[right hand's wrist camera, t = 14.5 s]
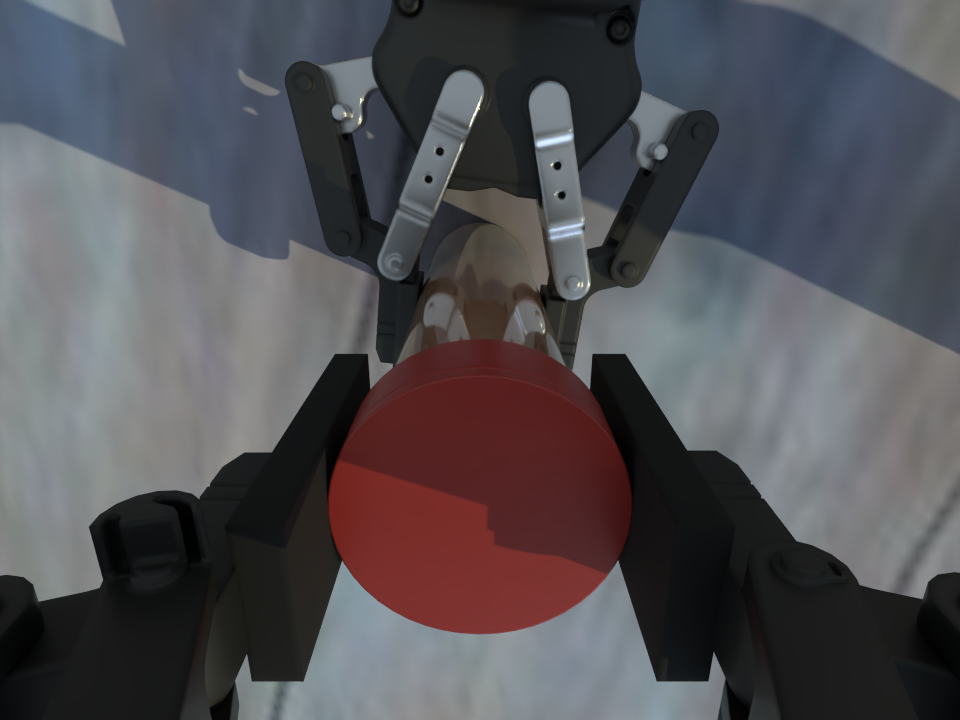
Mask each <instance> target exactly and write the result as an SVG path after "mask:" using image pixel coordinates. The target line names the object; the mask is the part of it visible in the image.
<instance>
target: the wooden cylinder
mask: <svg viewBox="0 0 960 720" xmlns="http://www.w3.org/2000/svg"><path fill="white" fill-rule="evenodd" d="M471 339H490V340H501V341H506V342H511V343H517V344H520V345H523V346H526V347H529V348H532V349H535V350H537V351H539V352H542V353H544V354H546V355H548V356H550V357H552V358H553V359H555V360H556V361H558V362H560V363H561V364H563V365H564V366H566V365H565V362H564V360H563V357H562V354H561V351H560V349H559V346H558V343H557V340H556V338H555V335H554V332H553V329H552V326H551V324H550V321H549V318H548V315H547V313H546V310H545V307H544V304H543V302H542V299H541V296H540V293H539V290H538V288H537V285H536V282H535V279H534V277H533V274H532V271H531V268H530V266H529V263H528V260H527V257H526V254H525V252H524V250H523V248H522V246H521V244H520V243H519V242H518V240H517V239H516V238H515V237H514V236H513V235H512V234H511V233H509V232H508V231H507V230H505V229H503V228H501V227H499V226H496V225H494V224H489V223H471V224H467V225H464V226H461V227H459V228H457V229H455V230H454V231H452V232H451V233H449V234H448V235H447V236H446V237H445V238H444V239H443V240H442V242H441V243H440V245H439V246H438V248H437V250H436V252H435V255H434V257H433V260H432V263H431V266H430V269H429V271H428V274H427V277H426V280H425V282H424V285H423V288H422V291H421V294H420V296H419V299H418V302H417V305H416V307H415V310H414V313H413V316H412V319H411V321H410V324H409V327H408V330H407V332H406V335H405V338H404V341H403V344H402V346H401V349H400V352H399V355H398V357H397V360H396V363H395V366H396V365H397V364H399V363H401V362H402V361H404V360H405V359H407V358H408V357H410V356H412V355H414V354H416V353H419V352H421V351H423V350H425V349H428V348H431V347H434V346H437V345H440V344H443V343H448V342H454V341H459V340H471ZM395 366H394V367H395Z"/></svg>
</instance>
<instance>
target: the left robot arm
mask: <svg viewBox="0 0 960 720" xmlns="http://www.w3.org/2000/svg"><path fill="white" fill-rule="evenodd" d="M640 5H641V0H392V6H391V12H390V15H389V19H388V22H387V24H386V27H385V29H384V31H383V33H382V34H381V36H380V38H379V39H378V41H377V42H376V45H375V47H374V50H373V54H372V56H369V57H364V58H358V59H353V60H348V61H342V62H337V63H331V64H326V65H318V64H315V63H310V62H306V61H300V62H296V63H294V64H293V65H291V66H290V68H289V69H288V71H287V73H286V76H285V85H286V89H287V93H288V97H289V101H290V105H291V109H292V113H293V117H294V121H295V125H296V129H297V133H298V137H299V141H300V145H301V148H302V152H303V156H304V160H305V164H306V168H307V172H308V176H309V180H310V184H311V188H312V192H313V196H314V200H315V204H316V208H317V211H318V215H319V219H320V223H321V227H322V231H323V235H324V239H325V243H326V245H327V247H328V248H329V250H330V251H331V252H333V253H334V254H336V255H338V256H344V257H345V256H351V257H353V258H355V259H357V260H359V261H361V262H363V263H366V264H367V265H369V266H370V267H372V268H373V270H374V271H375V272H376V274H377V276H378V278H379V283H380V288H379V305H378V324H377V339H376V350H377V353H378V356H379V359H380V362H384V363H393V367H394V366H395V363H396V360H397V357H398V355H399V352H400V349H401V346H402V344H403V341H404V338H405V335H406V332H407V330H408V327H409V324H410V321H411V319H412V316H413V313H414V310H415V307H416V305H417V302H418V299H419V296H420V294H421V291H422V288H423V280H424V272H422V271H419V260H420V252H421V249H422V247H423V244H424V242H425V240H426V237H427V235H428V233H429V230H430V228H431V225H432V223H433V221H434V218H435V216H436V214H437V211H438V209H439V207H440V204H441V202H442V200H443V197H444V195H445V193H446V190H447V189H455V190H464V191H475V190H481V189H488V188H497V189H500V190H502V191H505V192H507V193H510V194H512V195H514V196H517V197H522V198H531V199H536V204H537V210H538V216H539V221H540V225H541V229H542V235H543V241H544V248H545V254H546V260H547V266H548V272H549V277H548V283H547V285H541V288H540V296H541V299H542V302H543V304H544V307H545V310H546V313H547V315H548V318H549V321H550V324H551V326H552V329H553V332H554V335H555V338H556V340H557V343H558V346H559V349H560V351H561V354H562V357H563V360H564V362H565V365H566V367H567V368H568V369H569V370H570V371H572V369H573V363H574V358H575V352H576V347H577V341H578V335H579V330H580V324H581V319H582V313H583V308H584V305H585V302H586V301H587V299H588V298H589V297H590V296H591V295H592V294H594V293H595V292H597V291H600V290H603V289H607V288H612V287H616V286H621V287H625V288H630V287H634V286H636V285H638V284H639V283H640V282H641V281H642V280H643V279H644V277H645V275H646V273H647V271H648V270H649V268H650V266H651V264H652V262H653V260H654V258H655V256H656V254H657V252H658V250H659V248H660V246H661V245H662V243H663V241H664V239H665V237H666V235H667V233H668V231H669V229H670V227H671V225H672V223H673V221H674V219H675V218H676V216H677V214H678V212H679V210H680V208H681V206H682V204H683V202H684V200H685V198H686V196H687V194H688V192H689V191H690V189H691V187H692V185H693V183H694V181H695V179H696V177H697V175H698V173H699V171H700V169H701V167H702V165H703V164H704V162H705V160H706V158H707V156H708V154H709V152H710V150H711V148H712V146H713V144H714V142H715V140H716V138H717V136H718V132H719V125H718V121H717V119H716V117H715V116H714V115H713V114H712V113H710V112H708V111H704V110H699V111H684V110H682V109H680V108H678V107H676V106H674V105H672V104H670V103H667V102H665V101H663V100H661V99H659V98H657V97H655V96H653V95H650V94H648V93H646V92H644V91H642V83H641V76H640V73H639V70H638V67H637V63H636V58H635V49H634V41H635V33H636V27H637V22H638V16H639V10H640ZM378 90H380V92H381V93H382V95H383V97H384V99H385V100H386V102H387V104H388V106H389V107H390V109H391V111H392V113H393V114H394V116H395V118H396V120H397V121H398V123H399V125H400V127H401V128H402V130H403V132H404V134H405V135H406V137H407V139H408V141H409V142H410V144H411V146H412V148H413V150H414V151H415V153H416V155H417V157H416V159H415V162H414V164H413V167H412V169H411V172H410V174H409V177H408V179H407V182H406V184H405V187H404V190H403V192H402V195H401V197H400V200H399V203H398V206H397V210H396V213H395V215H394V218H393V220H392V223H391V225H390V228H389V227H387V226H385V225H383V224H381V223H379V222H377V221H375V220H373V219H371V216H370V212H369V207H368V203H367V198H366V194H365V189H364V185H363V181H362V176H361V172H360V167H359V163H358V158H357V154H356V149H355V145H354V140H353V136H352V133H353V132H357V131H359V130H360V129H361V128H362V127H363V126H364V125H365V123H366V120H367V103H368V100H369V98H370V96H371V95H372V94H373V93H374V92H376V91H378ZM625 122H628V124H629V125H630V126H631V128H632V131H633V142H632V145H631V148H630V155H631V159H632V161H633V162H634V164H635V165H637V166H638V167H640V168H639V170H638V172H637V174H636V176H635V179H634V181H633V183H632V185H631V187H630V189H629V191H628V193H627V195H626V197H625V199H624V201H623V203H622V205H621V207H620V209H619V212H618V214H617V216H616V218H615V220H614V222H613V224H612V226H611V228H610V230H609V232H608V234H607V236H606V238H605V240H604V243H603V245H602V246H600V247H595V248H591V249H586V242H585V234H584V229H585V219H584V211H583V204H582V197H581V189H580V182H579V175H578V172H579V171H580V170H581V169H582V168H583V167H584V166H585V165H586V164H587V163H588V162H589V161H590V160H591V158H592V157H593V156H594V155H595V154H596V153H597V152H598V151H599V150H600V149H601V148H602V147H603V146H604V145H605V143H606V142H607V141H608V140H609V139H610V138H611V137H612V136H613V135H614V134H615V133H616V132H617V131H618V130H619V128H620V127H621V126H622V125H623V124H624V123H625Z"/></svg>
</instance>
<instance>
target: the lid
mask: <svg viewBox="0 0 960 720" xmlns="http://www.w3.org/2000/svg"><path fill="white" fill-rule="evenodd" d="M632 503H633V497H632V488H631V481H630V478H629V474H628V471H627V467H626V464H625V462H624V460H623V457H622V455H621V453H620V450H619V448H618V446H617V443H616V441H615V439H614V436H613V434H612V432H611V430H610V427H609V425H608V423H607V420H606V418H605V416H604V414H603V411H602V409H601V407H600V405H599V403H598V402H597V400H596V399H595V397H594V396H593V394H592V392H591V391H590V390H589V389H588V388H587V386H586V385H585V384H584V383H583V382H582V381H581V379H580V378H579V377H577V376H576V375H575V374H574V373H573V372H572V371H570V370H569V369H568V368H567V367H566V366H564V365H563V364H561V363H560V362H558V361H556V360H555V359H553V358H552V357H550V356H548V355H546V354H544V353H542V352H539V351H537V350H535V349H532V348H529V347H526V346H523V345H520V344H517V343H511V342H506V341H501V340H490V339H471V340H459V341H454V342H448V343H443V344H440V345H437V346H434V347H431V348H428V349H425V350H423V351H421V352H419V353H416V354H414V355H412V356H410V357H408V358H407V359H405V360H404V361H402V362H401V363H399V364H397V365H396V366H395V367H393V368H392V369H391V370H390V371H389V372H387V373H386V374H385V375H384V376H383V377H382V378H381V379H380V380H379V381H378V382H377V383H376V384H375V385H374V386H373V388H372V389H371V390H370V391H369V393H368V394H367V396H366V397H365V399H364V400H363V402H362V403H361V406H360V408H359V410H358V412H357V414H356V416H355V418H354V420H353V423H352V425H351V427H350V430H349V432H348V434H347V437H346V439H345V441H344V444H343V446H342V448H341V450H340V453H339V455H338V457H337V460H336V462H335V465H334V468H333V471H332V475H331V478H330V483H329V490H328V511H329V521H330V529H331V534H332V537H333V540H334V543H335V546H336V548H337V550H338V552H339V554H340V556H341V558H342V560H343V562H344V564H345V565H346V567H347V568H348V570H349V571H350V573H351V574H352V576H353V577H354V578H355V579H356V580H357V581H358V583H359V584H360V585H361V586H362V587H363V588H364V589H365V590H366V591H367V592H368V593H369V594H371V595H372V596H373V597H374V598H375V599H376V600H377V601H379V602H380V603H382V604H383V605H385V606H386V607H388V608H389V609H391V610H392V611H394V612H396V613H398V614H400V615H402V616H404V617H405V618H407V619H410V620H412V621H415V622H417V623H420V624H423V625H425V626H429V627H432V628H436V629H440V630H444V631H450V632H457V633H467V634H495V633H503V632H510V631H516V630H520V629H524V628H528V627H532V626H535V625H538V624H540V623H543V622H546V621H548V620H551V619H553V618H555V617H557V616H559V615H561V614H563V613H565V612H566V611H568V610H569V609H571V608H572V607H574V606H576V605H577V604H579V603H580V602H581V601H583V600H584V599H585V598H586V597H587V596H589V595H590V594H591V593H592V592H593V591H594V590H595V589H596V588H597V587H598V586H599V585H600V584H601V583H602V582H603V581H604V580H605V578H606V577H607V576H608V574H609V573H610V571H611V570H612V569H613V567H614V566H615V564H616V562H617V561H618V559H619V557H620V555H621V553H622V551H623V549H624V546H625V543H626V540H627V537H628V534H629V530H630V524H631V515H632Z"/></svg>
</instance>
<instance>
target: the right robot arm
mask: <svg viewBox="0 0 960 720" xmlns="http://www.w3.org/2000/svg"><path fill="white" fill-rule="evenodd" d="M369 391H370V379H369V364H368V354H335V355H334V357H333V358H332V360H331V361H330V363H329V364H328V366H327V367H326V369H325V371H324V372H323V374H322V375H321V377H320V378H319V380H318V382H317V383H316V385H315V386H314V388H313V389H312V391H311V392H310V394H309V396H308V397H307V399H306V400H305V402H304V403H303V405H302V406H301V408H300V410H299V411H298V413H297V414H296V416H295V417H294V419H293V420H292V422H291V424H290V425H289V427H288V428H287V430H286V431H285V433H284V435H283V436H282V438H281V439H280V441H279V442H278V444H277V445H276V447H275V449H274V450H273V452H272V453H243V454H242V455H240V456H239V457H237V458H236V459H234V460H232V461H231V462H229V463H228V464H226V465H225V466H223V467H222V469H221V470H220V471H219V472H218V474H217V475H216V476H215V478H214V479H213V480H212V482H211V483H210V487H207V488H206V490H205V491H204V492H203V494H202V495H201V496H200V500H199V499H198V498H197V497H196V496H194V495H193V494H191V493H186V492H182V491H177V490H175V491H156V492H152V493H147V494H143V495H138V496H135V497H132V498H130V499H127V500H125V501H122V502H120V503H118V504H116V505H114V506H112V507H111V508H109V509H108V510H106V511H105V512H103V513H102V514H100V515H99V516H98V517H97V518H96V519H95V521H94V522H93V523H92V524H91V525H90V526H89V529H90V532H91V536H92V540H93V544H94V547H95V551H96V555H97V558H98V562H99V566H100V569H101V573H102V577H103V582H102V584H101V586H100V588H98V589H95V590H91V591H87V592H83V593H78V594H73V595H69V596H64V597H59V598H55V599H50V600H45V601H40V602H38V599H37V596H36V592H35V589H34V586H33V584H32V583H30V582H29V581H28V580H26V579H25V578H24V577H18V576H11V575H2V576H0V720H238V711H239V701H238V694H237V688H236V683H235V679H236V677H237V675H238V672H239V670H240V668H241V666H242V663H243V661H244V659H245V657H246V654H247V656H248V661H249V667H250V672H251V678H252V681H304V678H305V675H306V672H307V669H308V666H309V662H310V659H311V656H312V653H313V650H314V647H315V644H316V640H317V637H318V634H319V631H320V628H321V625H322V622H323V619H324V615H325V612H326V609H327V606H328V603H329V600H330V597H331V593H332V590H333V587H334V584H335V581H336V578H337V575H338V571H339V568H340V565H341V562H342V558H341V556H340V554H339V552H338V550H337V548H336V546H335V543H334V540H333V537H332V534H331V529H330V521H329V511H328V490H329V483H330V478H331V475H332V471H333V468H334V465H335V462H336V460H337V457H338V455H339V453H340V450H341V448H342V446H343V444H344V441H345V439H346V437H347V434H348V432H349V430H350V427H351V425H352V423H353V420H354V418H355V416H356V414H357V412H358V410H359V408H360V406H361V403H362V402H363V400H364V399H365V397H366V396H367V394H368V393H369ZM590 391H591V392H592V394H593V396H594V397H595V399H596V400H597V402H598V403H599V405H600V407H601V409H602V411H603V414H604V416H605V418H606V420H607V423H608V425H609V427H610V430H611V432H612V434H613V436H614V439H615V441H616V443H617V446H618V448H619V450H620V453H621V455H622V457H623V460H624V462H625V464H626V467H627V471H628V474H629V478H630V481H631V488H632V497H633V503H632V515H631V524H630V530H629V534H628V537H627V540H626V543H625V546H624V549H623V551H622V553H621V555H620V557H619V559H618V561H619V564H620V567H621V570H622V573H623V577H624V580H625V583H626V586H627V589H628V592H629V595H630V599H631V602H632V605H633V608H634V611H635V614H636V617H637V620H638V624H639V627H640V630H641V633H642V636H643V639H644V642H645V646H646V649H647V652H648V655H649V658H650V661H651V664H652V667H653V671H654V674H655V677H656V680H657V681H708V680H709V675H710V669H711V663H712V658H713V652H714V653H715V655H716V657H717V659H718V662H719V664H720V666H721V668H722V671H723V673H724V675H725V677H726V678H725V683H724V688H723V694H722V699H721V704H720V709H719V715H718V720H960V573H956V572H953V573H946V574H938V575H937V576H935V577H934V578H933V579H931V580H930V581H929V582H928V585H927V588H926V591H925V594H924V597H923V599H919V598H914V597H909V596H904V595H900V594H895V593H890V592H885V591H881V590H876V589H872V588H868V587H865V586H861V585H859V583H858V581H857V579H856V577H855V576H854V575H853V573H852V572H851V571H850V569H849V568H848V567H847V566H846V565H845V564H844V563H842V562H841V561H840V560H838V559H837V558H836V557H834V556H833V555H832V554H830V553H827V552H825V551H823V550H821V549H819V548H817V547H815V546H812V545H809V544H805V543H801V542H797V541H796V540H795V539H794V537H793V536H792V535H791V534H790V532H789V531H788V530H787V528H786V527H785V526H784V524H783V523H782V522H781V520H780V519H779V518H778V517H777V515H776V514H775V513H774V511H773V510H772V509H771V507H770V506H769V505H768V503H767V502H766V501H765V500H764V499H761V494H760V493H759V492H758V490H757V489H756V488H755V486H754V485H751V481H750V480H749V479H748V477H747V476H746V475H745V473H744V472H743V471H742V469H741V468H740V467H739V466H738V465H737V464H736V463H734V462H733V461H731V460H730V459H728V458H727V457H725V456H724V455H722V454H721V453H719V452H717V451H687V449H686V448H685V446H684V445H683V443H682V442H681V440H680V439H679V437H678V435H677V434H676V432H675V431H674V429H673V428H672V426H671V425H670V423H669V421H668V420H667V418H666V417H665V415H664V414H663V412H662V410H661V409H660V407H659V406H658V404H657V403H656V401H655V400H654V398H653V396H652V395H651V393H650V392H649V390H648V389H647V387H646V386H645V384H644V382H643V381H642V379H641V378H640V376H639V375H638V373H637V372H636V370H635V368H634V367H633V365H632V364H631V362H630V361H629V359H628V357H627V356H626V354H593V356H592V370H591V384H590Z"/></svg>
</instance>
